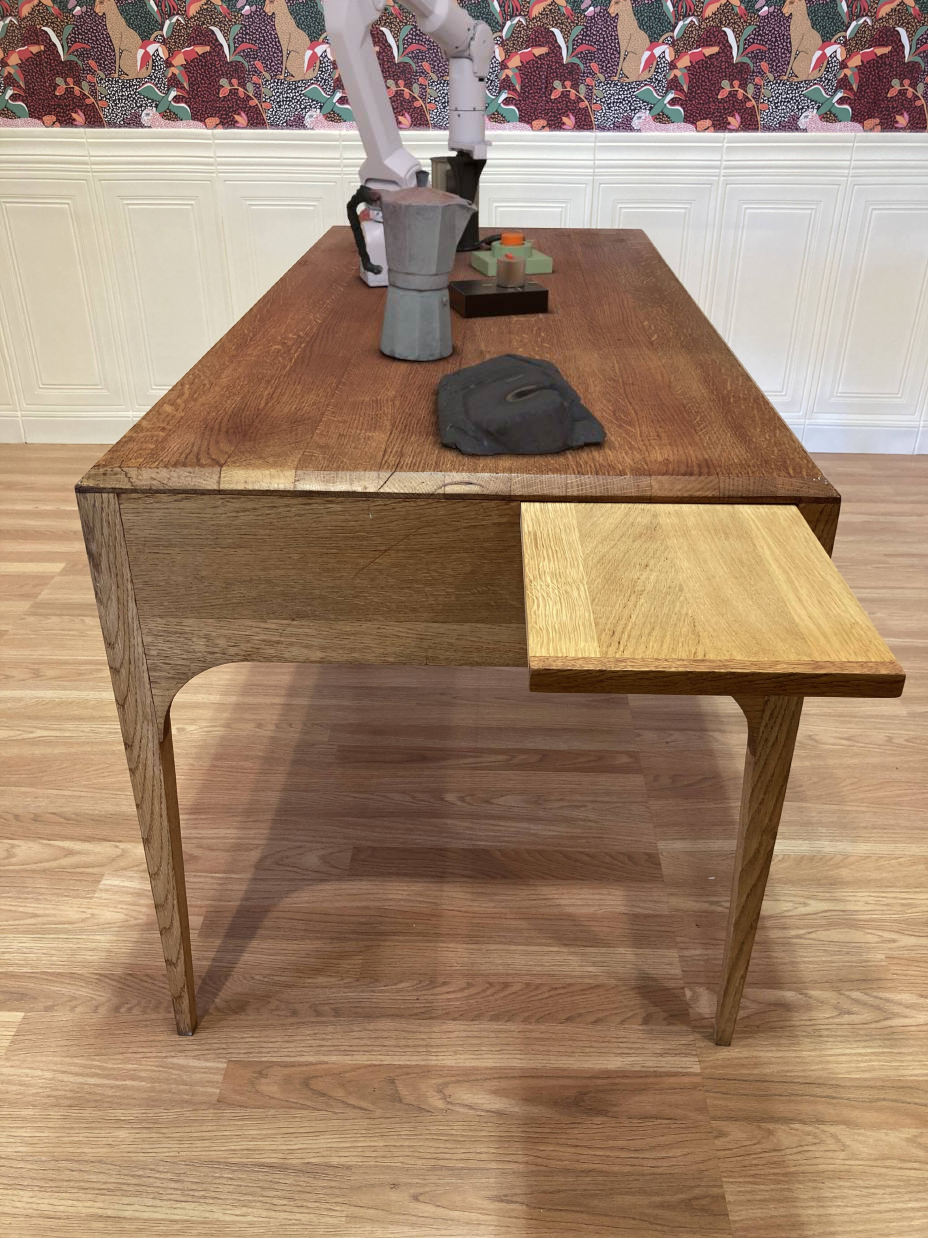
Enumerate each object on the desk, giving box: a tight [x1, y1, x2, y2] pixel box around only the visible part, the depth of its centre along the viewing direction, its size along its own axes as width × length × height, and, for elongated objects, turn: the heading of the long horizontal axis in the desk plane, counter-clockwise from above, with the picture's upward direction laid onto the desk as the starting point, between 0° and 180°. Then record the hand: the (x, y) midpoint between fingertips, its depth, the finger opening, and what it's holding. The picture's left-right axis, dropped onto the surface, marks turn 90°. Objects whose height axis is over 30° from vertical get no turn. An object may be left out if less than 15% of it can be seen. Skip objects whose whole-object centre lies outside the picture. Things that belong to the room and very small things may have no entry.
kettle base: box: [471, 240, 554, 277], centre depth 158 cm, size 11×9×4 cm
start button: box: [500, 232, 524, 246], centre depth 157 cm, size 4×4×2 cm
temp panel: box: [447, 276, 550, 319], centre depth 135 cm, size 12×9×3 cm
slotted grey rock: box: [436, 353, 607, 456], centre depth 95 cm, size 15×22×5 cm
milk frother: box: [429, 155, 526, 251], centre depth 171 cm, size 14×16×15 cm
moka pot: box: [345, 169, 478, 362], centre depth 110 cm, size 10×15×20 cm, turn 78°
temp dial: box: [495, 253, 526, 287], centre depth 133 cm, size 4×4×4 cm
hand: (466, 203), depth 157 cm, fingers closed
